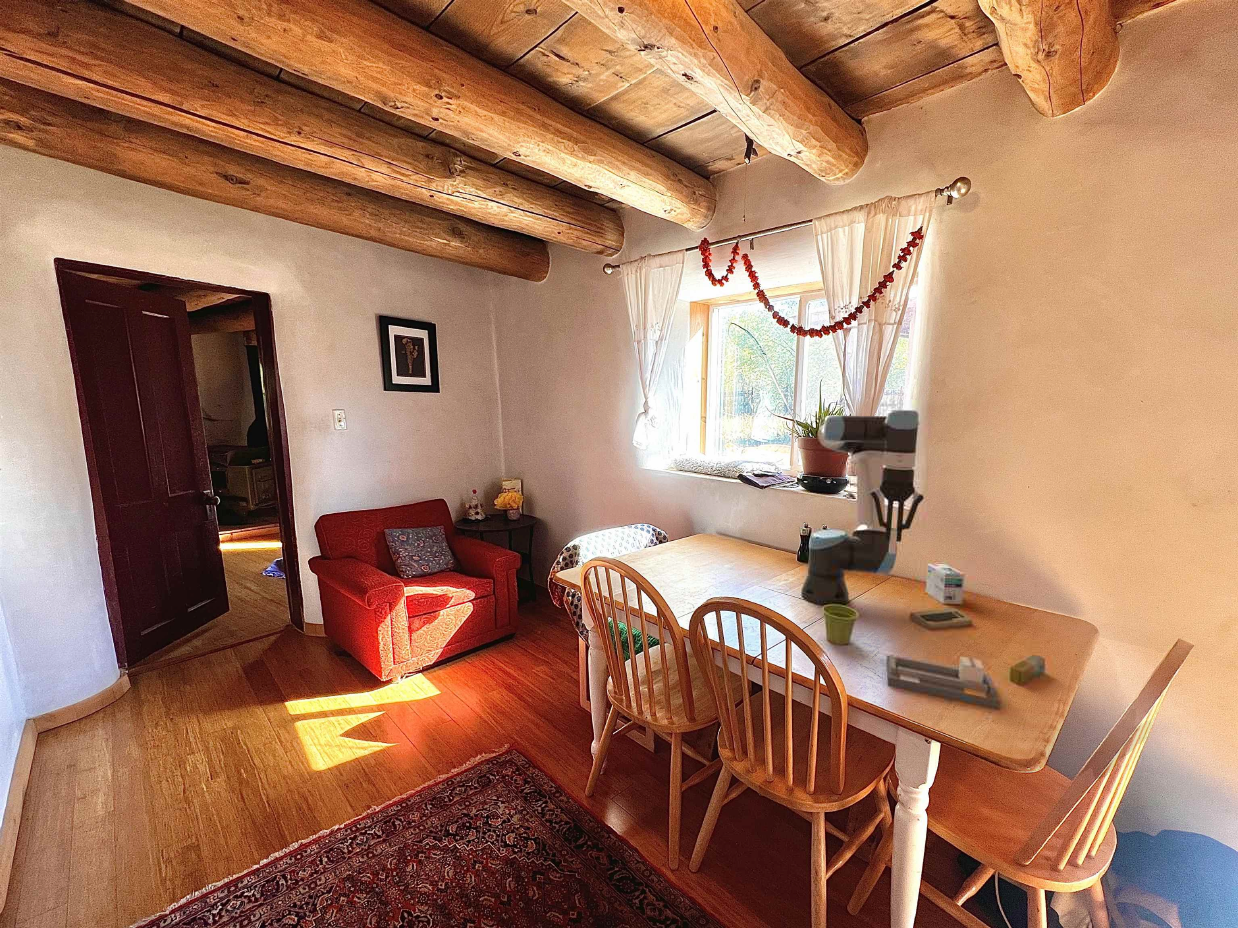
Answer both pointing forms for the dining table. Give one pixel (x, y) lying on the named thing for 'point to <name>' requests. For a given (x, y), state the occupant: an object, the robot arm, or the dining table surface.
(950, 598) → the light bulb box
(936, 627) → the computer
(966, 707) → the dining table surface
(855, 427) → the robot arm
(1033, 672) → the medication box
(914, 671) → the grey tray
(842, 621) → the plant pot
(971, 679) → the white cardboard box
